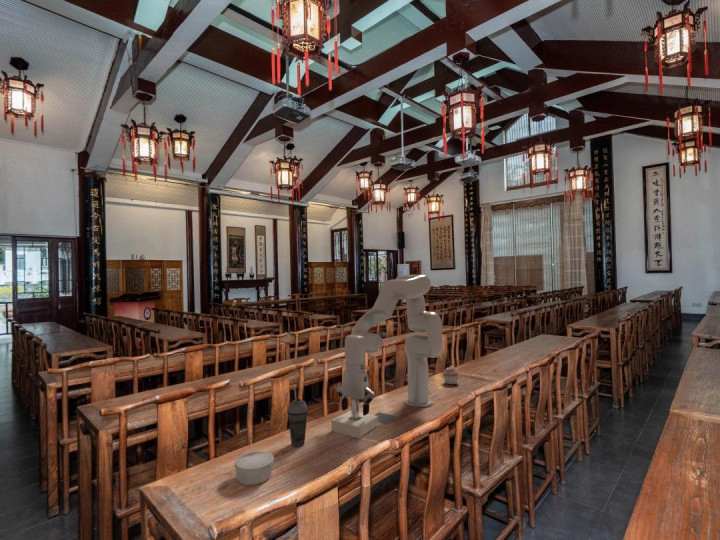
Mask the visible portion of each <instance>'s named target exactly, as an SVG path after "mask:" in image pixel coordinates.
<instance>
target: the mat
mask: <svg viewBox="0 0 720 540" xmlns="http://www.w3.org/2000/svg"><path fill="white" fill-rule="evenodd" d="M374 415H375V416H378V424H383V425H390V424H391V423H393V422H394V421H396V420H397V419H398V418H399V419H400V416H399V415H394V414H388V413H384V412H380V411H378V412H377V413H375V414H374Z"/></svg>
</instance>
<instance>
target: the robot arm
mask: <svg viewBox="0 0 720 540" xmlns="http://www.w3.org/2000/svg"><path fill="white" fill-rule="evenodd" d="M431 285H432V283H431V279H430V278H429V277H428V276H427V275H425V274H402V275H397V277H396V278H395V279H389V280H386V281H385V282H384V283H383V285H382V288H381V289H380V291H379V294H378V296H377V298H376V300H375V302H374V304H373V306H372V308H371V309H369V310H368V311H367V312H366V313H364V314H363V315H362V316H361V317H360V318H359V319H358V320H357V322H356V323H355V325H354V327H353V329H352V330H351V333H350V334H348V335H347V336H345V338H344V370H343V374H342V375H343V376H342V381H341V382H342V383H341V384H340V385H338V386H336V388H335V390H336V391H337V395H338V397H339V400H340V401H341V411H343V412H344V411H346V410H348V409H349V400H348V399H349V398H351V397H352V398H357V399H359V400H361V401H362V403H363V404H362V413H363V415H367V414H370V404H371V403H372V401H373V400H374V398H375V395H376V393H375V392H374V391H373V390H371V389H370V385H369V384H370V382H369V377H368V373H367V372H368V371H366V370H367V369H368V366H367V365H366V363H365V354H366V353H367V354H368V353H377V352H378V351H379V352H380V350H381V349H382V347H383V345H384V342H383V338H382V336H381V335H379V334H377V333H375V332H368V331H369V330H371V328H372V327H373V326H375V325H376V324H379V323H381V322H383V321H386V320H388V319H390V318H391V317H392V316H393V314H394V311H395V309H396V306H397V304H398V302H399V300H405V302H406V314H407V318H406V319H407V325H408V329H410V331H412V332H416V333H414V334H413V333H412V334H410V335H408V336H407V337H406V338H405V341H404V347H405V353H406V358H407V397H406V398H404V404H405V405H408V406H411V407H417V408H426V407H427V408H428V407H430V406H432V405H433V400H432V399H431V398H429V397H430V396H429V395H430V394H431V389H430V390H429V388H430V387H429V386H430V385H429V364H428V363H429V362H428V359H427V358H433V359H435V358H438V357H440V356H441V354H442V352H443V323H442V319H441V317H440V315H439V314H438V313H437V312H434V311H427V310H426V300H425V297H424V295H425V294H428V292H429V291H430V289H431V287H432V286H431ZM419 333H425V334H426V335H425V334H419Z"/></svg>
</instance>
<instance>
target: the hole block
mask: <svg viewBox="0 0 720 540" xmlns="http://www.w3.org/2000/svg"><path fill="white" fill-rule="evenodd" d="M378 426H379V423H378V416H375V414H370V413H368V414H367V415H363V411H359V420H358V421H354V420H351V409H350V410H348V411H347V412H346V411H345V412H344V413H343V414H341V415H339V416H337V417H335V418H333V419H331V431H332V432H335V433H338V434H342V435H344V436H345V435H346V436H349V437H354V438H358V439H362V438H363V436H364V435H366V434H368V433H369V432H371V431H372V430H373V429H375V428H376V427H378Z"/></svg>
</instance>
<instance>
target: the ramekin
mask: <svg viewBox="0 0 720 540" xmlns="http://www.w3.org/2000/svg"><path fill="white" fill-rule="evenodd" d="M274 461H275V457H274V455H273V454H272V453H271V452H268V451H261V450H260V451H259V450H258V451H251V452H247V453H244V454H241V455H240V456H238V457H237V458H236V459H235V461H234V467H235V473H236V478H237V481H238V482H239V483H240V484H242V485H245V486H256V484H257V485H260V484H259V483H261V484H262V482H263V483H265V482H266V481H268V480H269V478H270V477H271V476H272V472H273V465H274ZM267 479H268V480H267ZM264 481H265V482H264Z"/></svg>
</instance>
